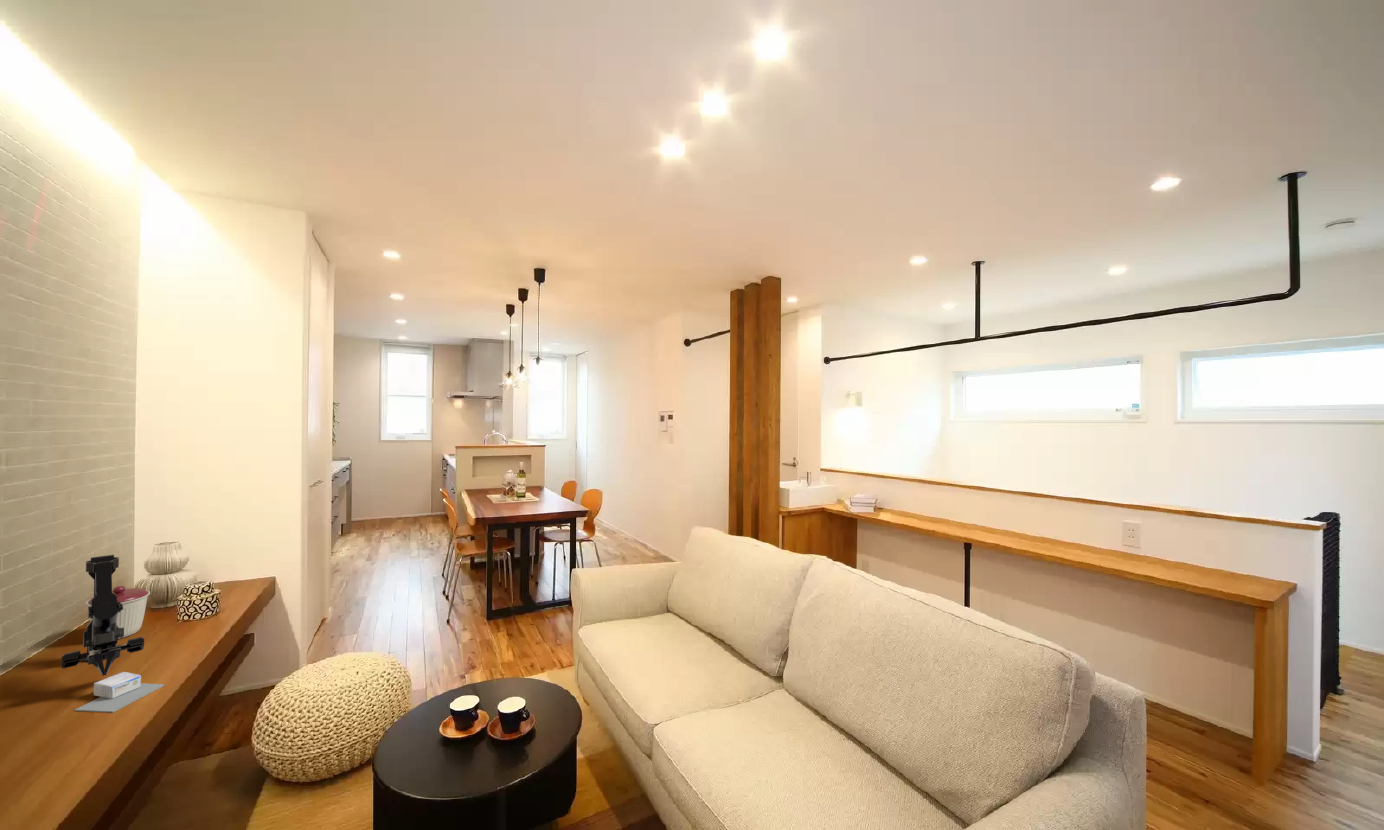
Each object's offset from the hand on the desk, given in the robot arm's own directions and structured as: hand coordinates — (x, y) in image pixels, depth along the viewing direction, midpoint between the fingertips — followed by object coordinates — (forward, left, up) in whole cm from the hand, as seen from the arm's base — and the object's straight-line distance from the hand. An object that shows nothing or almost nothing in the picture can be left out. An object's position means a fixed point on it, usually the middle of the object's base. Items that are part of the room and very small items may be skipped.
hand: (104, 675), depth 172 cm
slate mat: (+7, -1, -7) cm, 10 cm away
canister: (-42, +41, -7) cm, 59 cm away
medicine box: (-2, +3, -4) cm, 5 cm away
